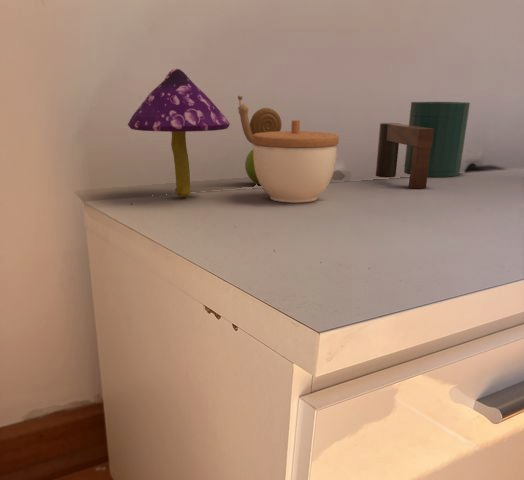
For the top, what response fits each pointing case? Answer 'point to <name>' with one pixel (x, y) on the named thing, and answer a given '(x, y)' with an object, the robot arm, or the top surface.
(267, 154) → the trinket box
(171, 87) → the decorative mushroom
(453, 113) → the jar
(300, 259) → the top surface
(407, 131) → the brown wooden arch
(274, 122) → the snail figurine
